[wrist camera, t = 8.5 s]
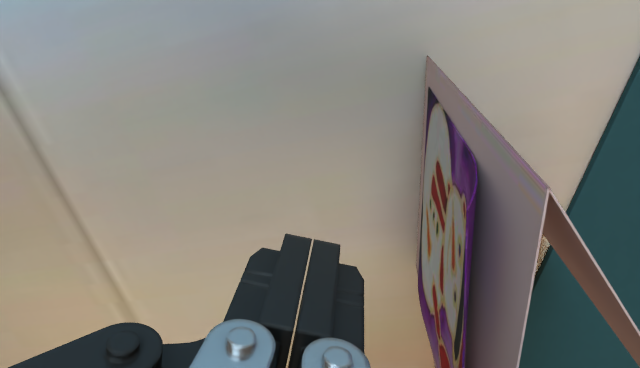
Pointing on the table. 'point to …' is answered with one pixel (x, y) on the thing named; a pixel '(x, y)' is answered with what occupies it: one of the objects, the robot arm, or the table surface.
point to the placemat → (594, 255)
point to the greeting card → (489, 238)
